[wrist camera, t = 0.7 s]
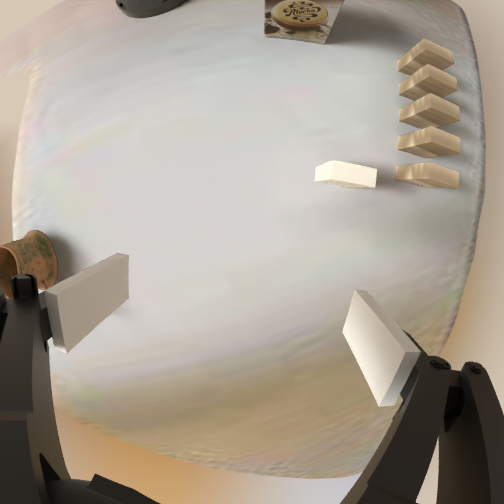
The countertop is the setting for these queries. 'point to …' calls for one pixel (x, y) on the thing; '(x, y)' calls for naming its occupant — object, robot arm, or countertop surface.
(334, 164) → the domino
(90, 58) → the countertop surface
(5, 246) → the mug
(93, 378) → the countertop surface
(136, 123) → the countertop surface
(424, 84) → the domino
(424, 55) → the domino
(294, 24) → the coffee box
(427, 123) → the domino
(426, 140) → the domino
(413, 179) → the domino
